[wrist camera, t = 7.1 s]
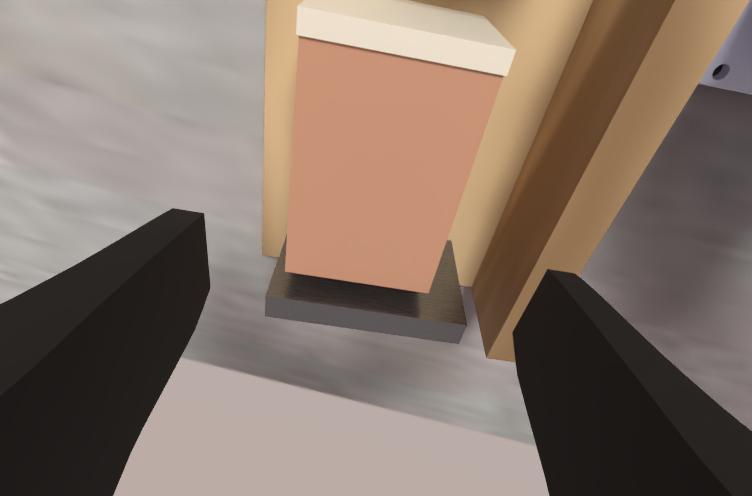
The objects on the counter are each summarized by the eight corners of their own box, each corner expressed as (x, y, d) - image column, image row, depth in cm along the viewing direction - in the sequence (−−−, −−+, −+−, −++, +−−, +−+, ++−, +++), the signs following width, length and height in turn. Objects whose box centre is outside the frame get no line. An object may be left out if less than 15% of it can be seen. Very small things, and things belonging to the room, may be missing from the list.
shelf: (821, -397, 9) (1143, -635, 5) (500, 280, 21) (524, 363, 17) (284, -561, 8) (184, -1003, 4) (266, 244, 20) (235, 322, 16)
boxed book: (484, 15, 14) (516, 49, 10) (422, 222, 18) (430, 295, 15) (323, -18, 13) (297, 5, 10) (304, 203, 18) (282, 273, 14)
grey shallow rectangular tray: (451, 240, 19) (466, 325, 15) (436, 281, 20) (447, 368, 16) (293, 214, 18) (265, 295, 14) (290, 259, 20) (264, 343, 16)
